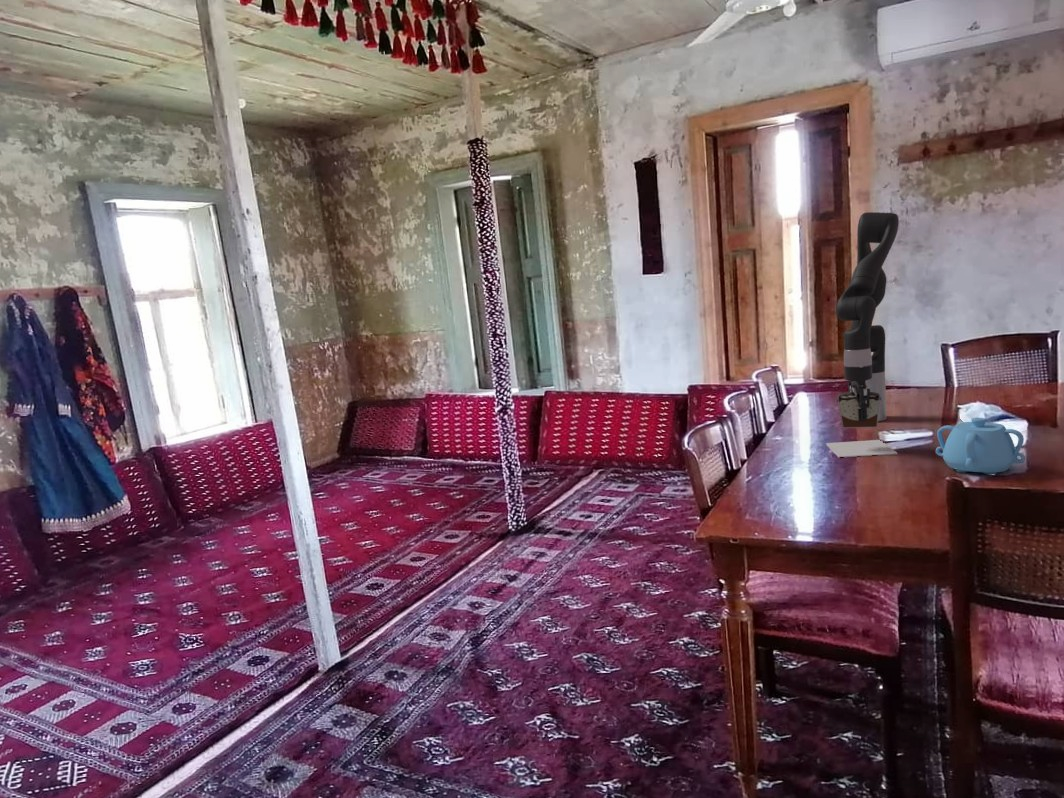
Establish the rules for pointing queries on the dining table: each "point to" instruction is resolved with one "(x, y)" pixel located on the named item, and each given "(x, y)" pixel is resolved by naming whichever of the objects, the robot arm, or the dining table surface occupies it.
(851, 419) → the food container
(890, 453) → the mat
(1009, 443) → the decorative pot
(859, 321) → the robot arm
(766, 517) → the dining table surface
